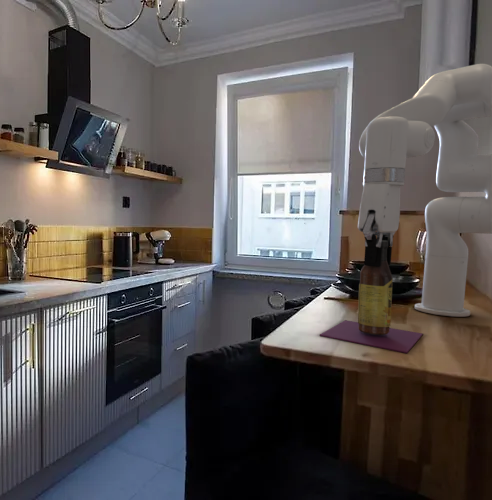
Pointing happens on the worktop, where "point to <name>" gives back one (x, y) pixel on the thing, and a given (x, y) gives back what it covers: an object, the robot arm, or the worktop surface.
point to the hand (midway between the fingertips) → (377, 264)
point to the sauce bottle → (375, 297)
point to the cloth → (374, 337)
